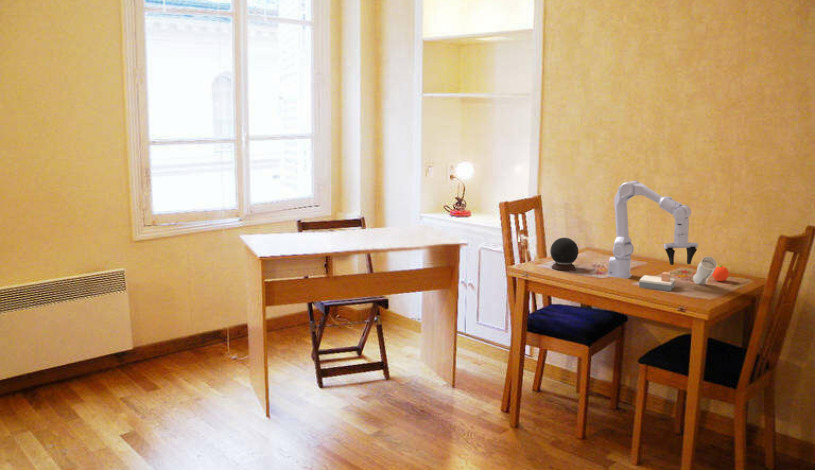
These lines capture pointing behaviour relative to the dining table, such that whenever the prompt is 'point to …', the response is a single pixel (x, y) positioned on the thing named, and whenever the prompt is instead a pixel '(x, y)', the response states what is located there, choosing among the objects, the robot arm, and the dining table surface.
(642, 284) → the tub
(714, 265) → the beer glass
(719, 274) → the clementine
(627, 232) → the robot arm
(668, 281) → the lid
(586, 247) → the dining table surface
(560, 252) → the black ball on stand
